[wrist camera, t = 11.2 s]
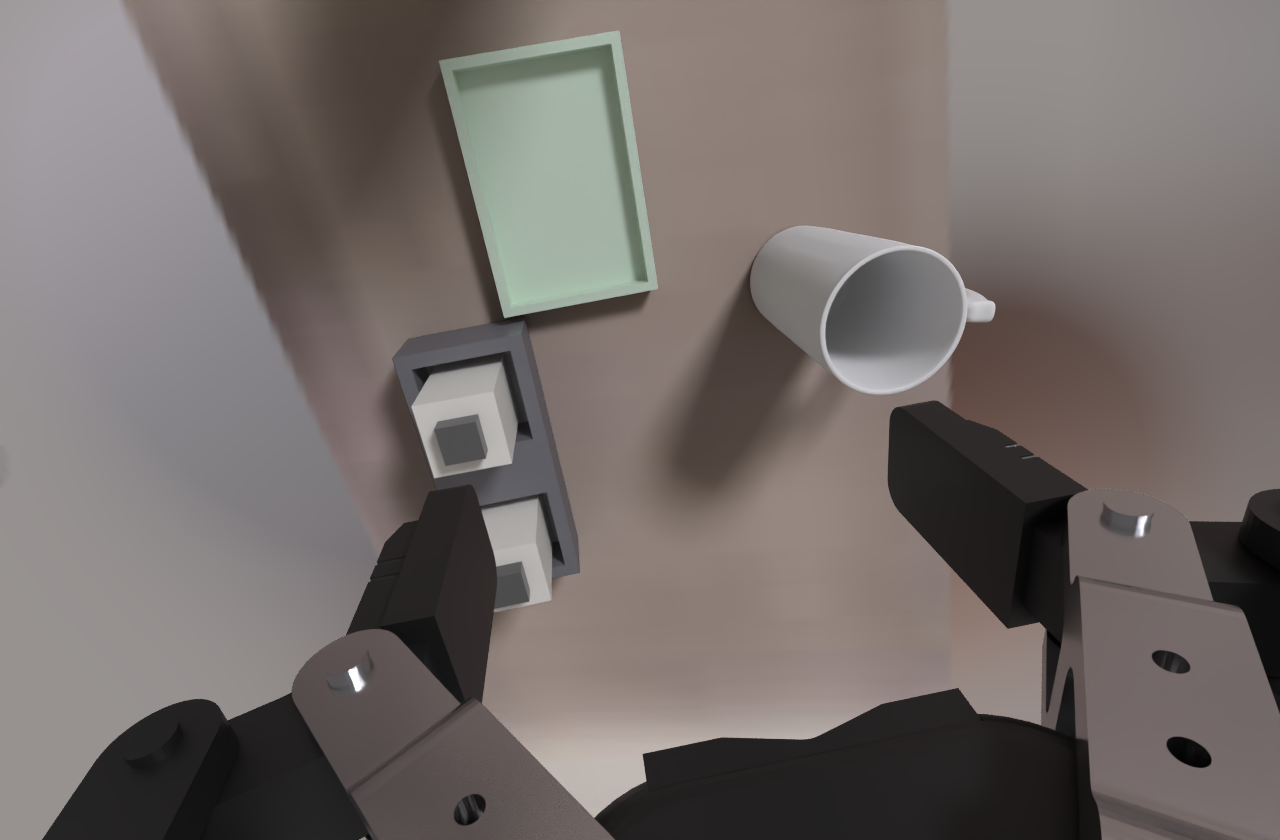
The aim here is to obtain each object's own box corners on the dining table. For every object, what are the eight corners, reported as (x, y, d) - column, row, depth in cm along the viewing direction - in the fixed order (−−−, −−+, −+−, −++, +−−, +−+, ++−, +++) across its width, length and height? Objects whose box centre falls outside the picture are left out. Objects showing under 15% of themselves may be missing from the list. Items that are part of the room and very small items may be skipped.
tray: (444, 65, 32) (438, 60, 31) (616, 36, 32) (619, 30, 31) (506, 311, 37) (504, 318, 36) (654, 284, 38) (658, 289, 36)
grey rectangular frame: (408, 338, 37) (391, 358, 33) (524, 316, 37) (521, 333, 34) (478, 558, 43) (471, 595, 40) (578, 538, 44) (580, 572, 40)
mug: (741, 333, 39) (813, 399, 28) (747, 222, 37) (828, 247, 26) (892, 326, 41) (1017, 387, 30) (908, 217, 38) (1051, 241, 27)
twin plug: (477, 494, 40) (460, 568, 33) (539, 481, 40) (535, 553, 33) (493, 545, 42) (480, 627, 35) (552, 533, 42) (551, 611, 35)
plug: (436, 363, 37) (406, 414, 29) (504, 351, 37) (491, 398, 30) (454, 425, 38) (430, 487, 31) (519, 413, 39) (510, 472, 31)
